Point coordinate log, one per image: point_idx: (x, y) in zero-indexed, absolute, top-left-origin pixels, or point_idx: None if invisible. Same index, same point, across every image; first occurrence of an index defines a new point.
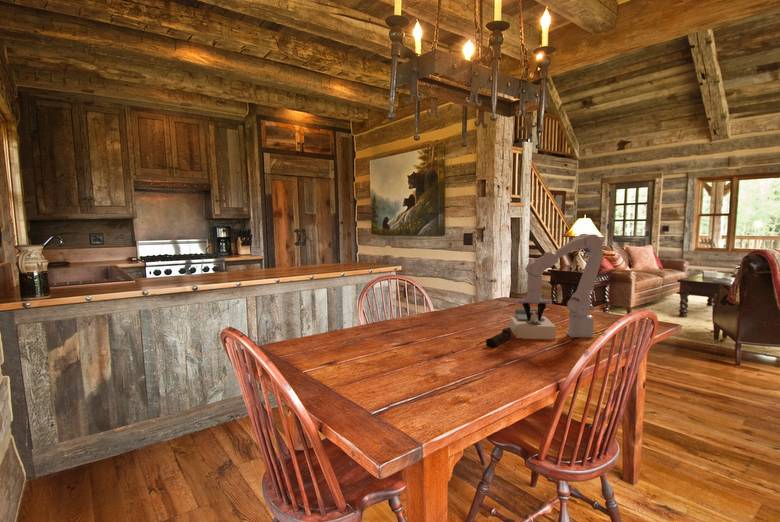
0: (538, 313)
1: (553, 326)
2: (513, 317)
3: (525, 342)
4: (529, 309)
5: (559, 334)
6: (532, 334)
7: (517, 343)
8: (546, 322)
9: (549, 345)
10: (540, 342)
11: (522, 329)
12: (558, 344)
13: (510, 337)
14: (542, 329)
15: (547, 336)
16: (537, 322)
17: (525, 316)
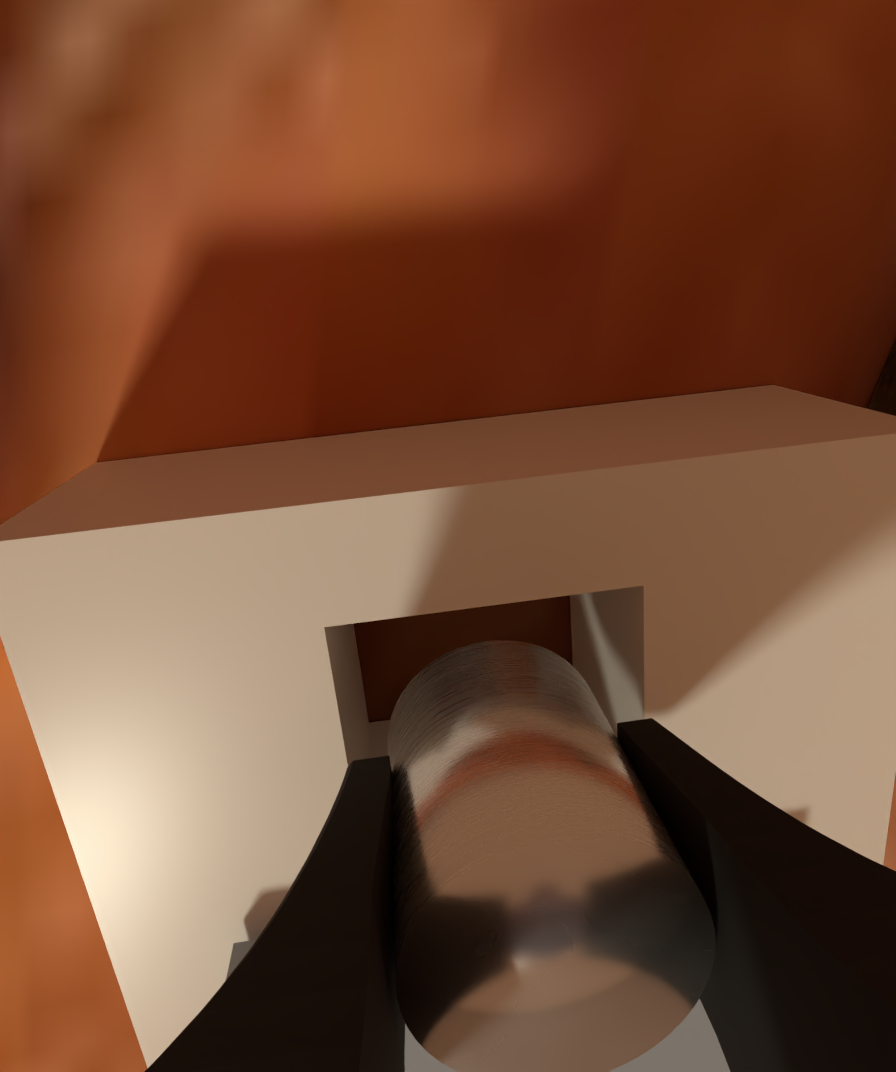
0: (412, 912)
1: (35, 544)
2: None
3: (666, 153)
4: (837, 931)
5: (27, 762)
6: (521, 428)
7: (828, 53)
8: (200, 859)
9: (228, 2)
10: (387, 203)
11: (760, 428)
12: (43, 114)
13: (870, 404)
14: (322, 481)
15: (233, 456)
16: (423, 700)
17: (622, 1068)
